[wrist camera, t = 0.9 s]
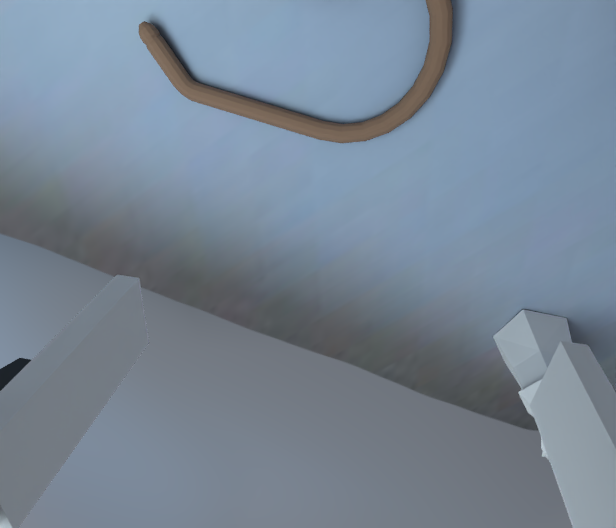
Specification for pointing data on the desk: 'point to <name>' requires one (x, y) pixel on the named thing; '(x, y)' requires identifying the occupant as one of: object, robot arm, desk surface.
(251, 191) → the desk surface
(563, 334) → the figurine
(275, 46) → the desk surface
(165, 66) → the brown curved horn
